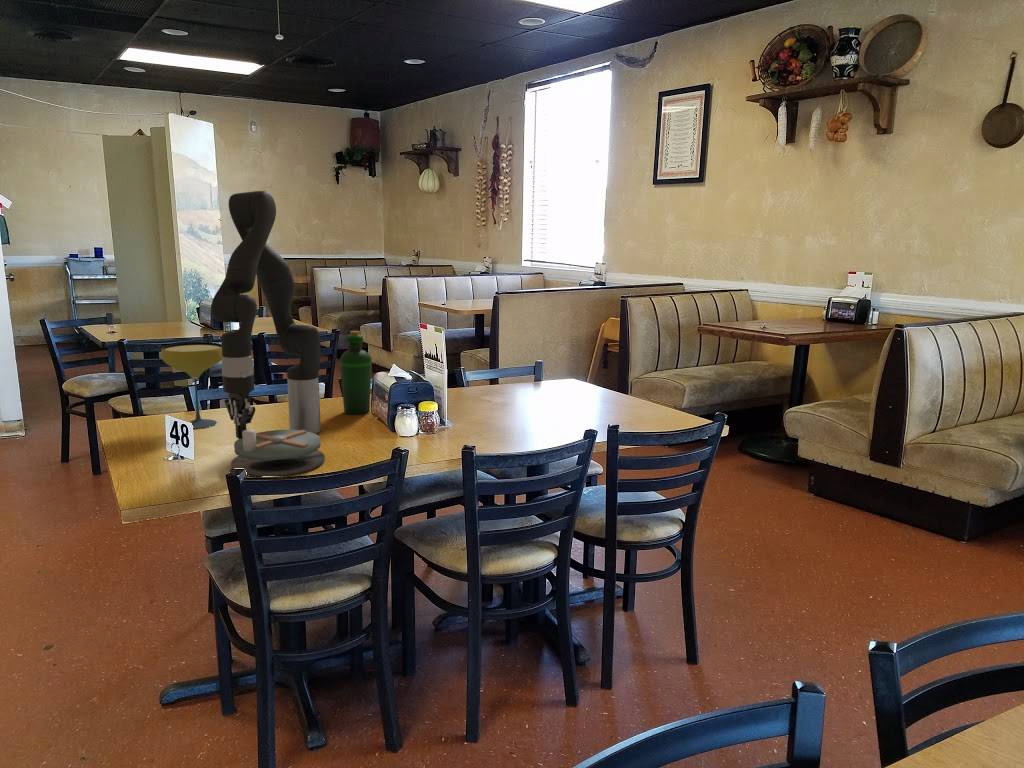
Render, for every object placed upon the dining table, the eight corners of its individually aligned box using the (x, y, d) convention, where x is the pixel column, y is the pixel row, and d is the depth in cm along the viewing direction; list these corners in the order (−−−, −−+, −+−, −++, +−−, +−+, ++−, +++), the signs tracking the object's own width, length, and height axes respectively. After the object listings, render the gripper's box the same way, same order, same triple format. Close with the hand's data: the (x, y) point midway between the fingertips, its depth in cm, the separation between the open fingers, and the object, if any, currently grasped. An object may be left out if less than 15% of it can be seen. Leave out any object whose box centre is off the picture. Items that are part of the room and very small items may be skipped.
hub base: (240, 450, 207) (239, 437, 206) (327, 448, 211) (327, 434, 210) (222, 479, 184) (221, 464, 183) (321, 475, 188) (320, 460, 187)
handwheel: (278, 431, 211) (277, 409, 210) (337, 443, 201) (336, 419, 200) (215, 451, 192) (214, 426, 191) (276, 465, 182) (275, 439, 181)
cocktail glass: (239, 424, 234) (234, 347, 228) (183, 435, 220) (176, 353, 215) (212, 414, 245) (207, 340, 240) (157, 424, 232) (150, 346, 227)
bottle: (370, 407, 258) (368, 328, 252) (374, 415, 249) (373, 333, 243) (339, 409, 255) (337, 329, 249) (342, 417, 245) (340, 334, 239)
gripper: (212, 370, 188) (216, 434, 192) (235, 379, 179) (239, 447, 183) (240, 366, 193) (243, 429, 197) (264, 375, 184) (267, 441, 188)
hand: (241, 437), depth 190 cm, fingers closed
